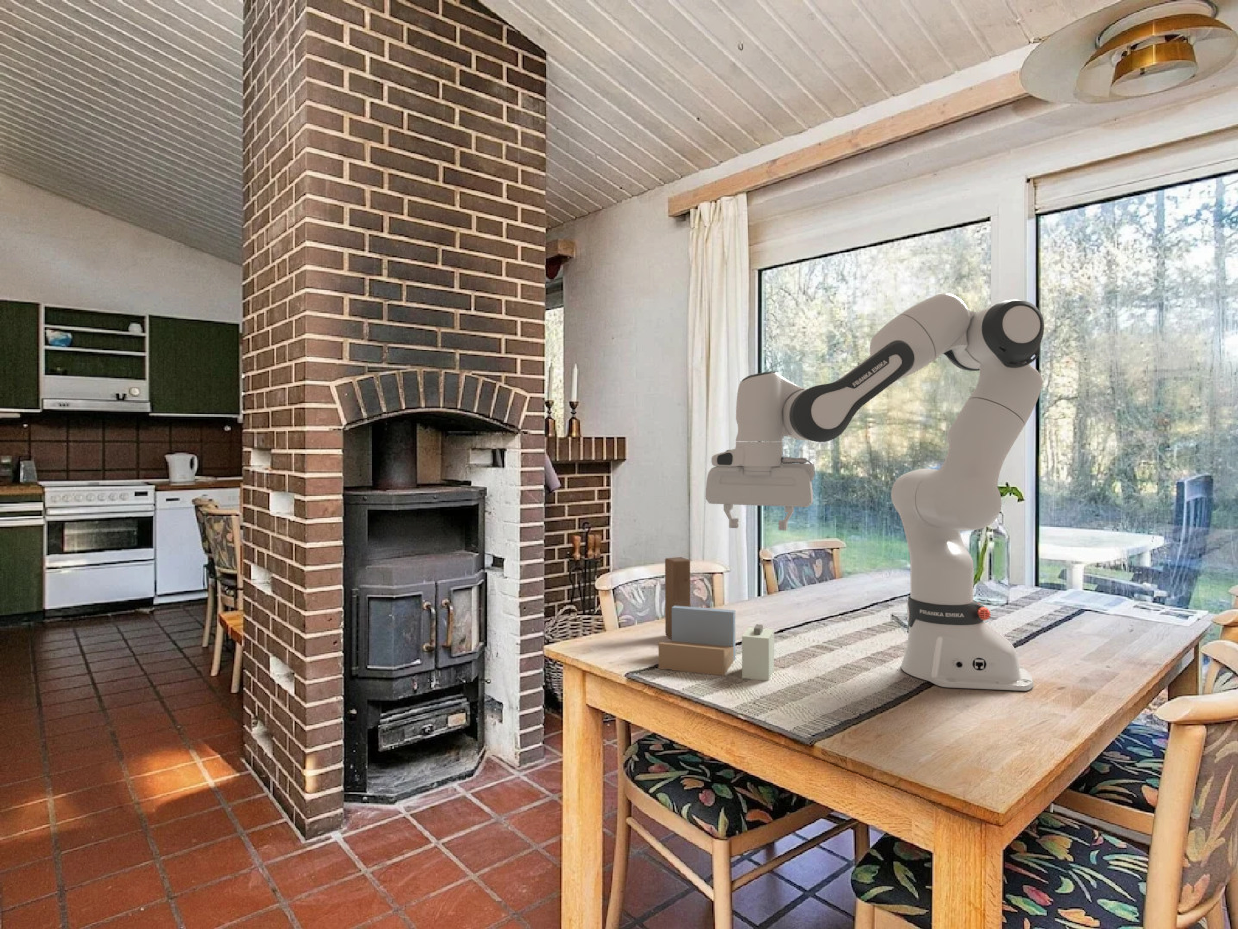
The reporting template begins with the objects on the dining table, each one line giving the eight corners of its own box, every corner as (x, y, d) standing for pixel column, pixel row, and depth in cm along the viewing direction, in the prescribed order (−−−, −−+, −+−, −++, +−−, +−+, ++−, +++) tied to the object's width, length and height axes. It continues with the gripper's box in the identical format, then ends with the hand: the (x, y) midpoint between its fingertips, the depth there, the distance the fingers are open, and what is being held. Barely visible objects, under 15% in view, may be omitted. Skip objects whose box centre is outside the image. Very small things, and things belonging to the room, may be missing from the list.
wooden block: (700, 643, 159) (700, 562, 159) (682, 646, 158) (681, 564, 157) (682, 633, 168) (682, 556, 167) (664, 635, 166) (664, 558, 165)
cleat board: (735, 658, 148) (735, 610, 148) (723, 675, 138) (723, 623, 137) (674, 652, 153) (674, 605, 152) (658, 668, 142) (658, 618, 142)
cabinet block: (774, 669, 141) (774, 623, 141) (768, 681, 135) (768, 632, 134) (748, 667, 143) (748, 621, 143) (742, 678, 136) (742, 629, 136)
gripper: (816, 457, 137) (815, 529, 137) (711, 456, 144) (710, 524, 145) (812, 458, 131) (811, 533, 132) (703, 456, 139) (702, 528, 139)
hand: (758, 529), depth 138 cm, fingers open, 8 cm apart
